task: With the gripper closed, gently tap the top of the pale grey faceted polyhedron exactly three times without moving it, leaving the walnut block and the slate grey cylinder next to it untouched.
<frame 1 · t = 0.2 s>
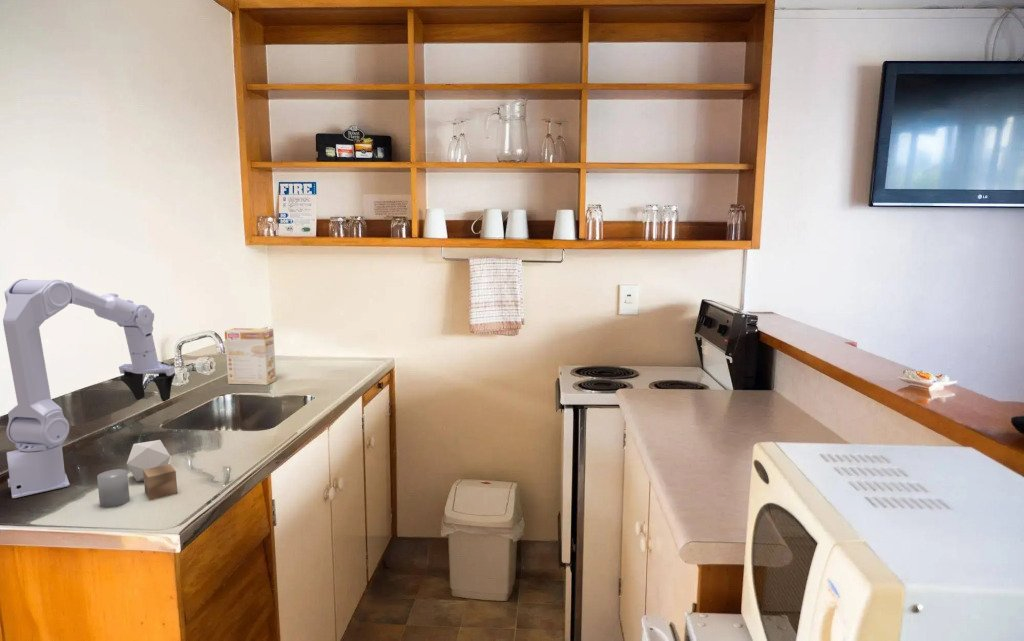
hand: (153, 399, 157), 11 cm above the counter, tool pointing down, fingers open, 7 cm apart
pale grey faceted polyhedron: (150, 477, 134), on the counter
walnut block: (161, 493, 125), on the counter
coffeecake box: (252, 383, 219), on the counter
grey cylinder: (115, 502, 121), on the counter
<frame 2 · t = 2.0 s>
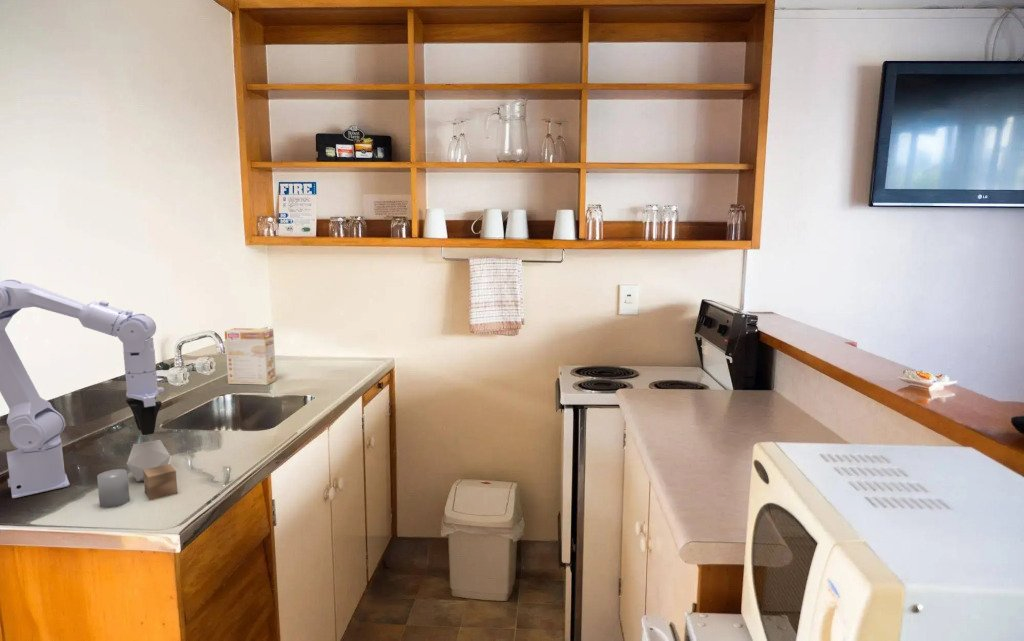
hand: (146, 431, 132), 10 cm above the counter, tool pointing down, fingers open, 4 cm apart
nothing on the counter moved.
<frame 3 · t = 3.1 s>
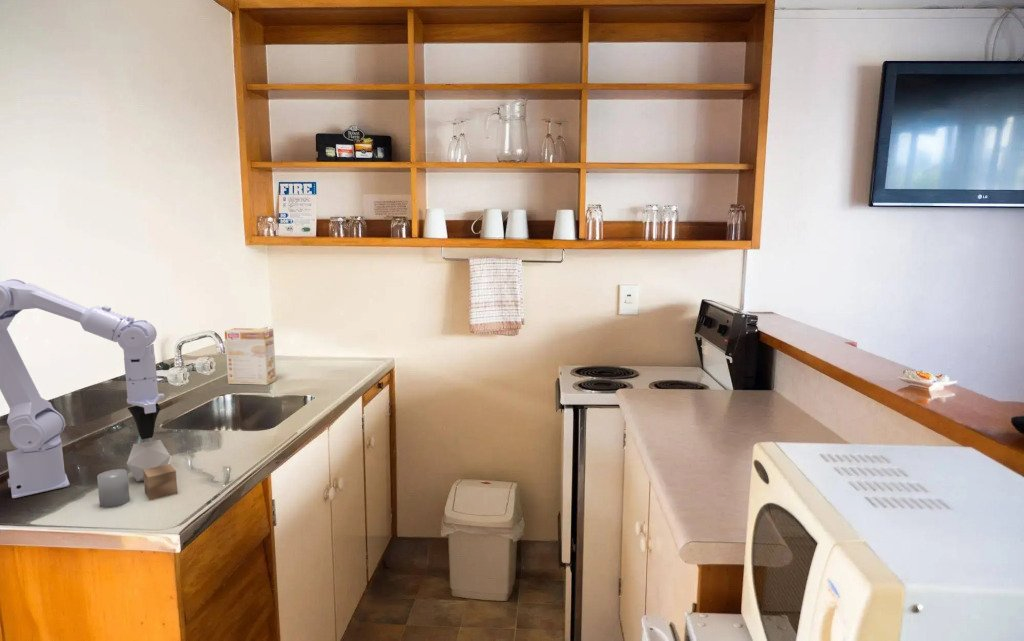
hand: (146, 437, 132), 9 cm above the counter, tool pointing down, fingers closed
nothing on the counter moved.
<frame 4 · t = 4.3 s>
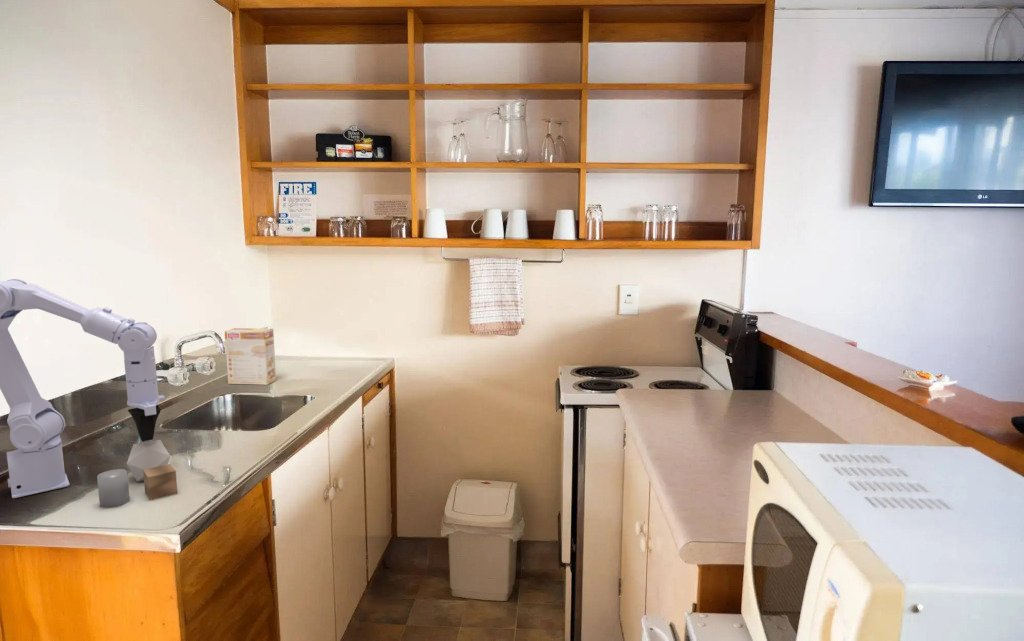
hand: (147, 439, 132), 9 cm above the counter, tool pointing down, fingers closed
nothing on the counter moved.
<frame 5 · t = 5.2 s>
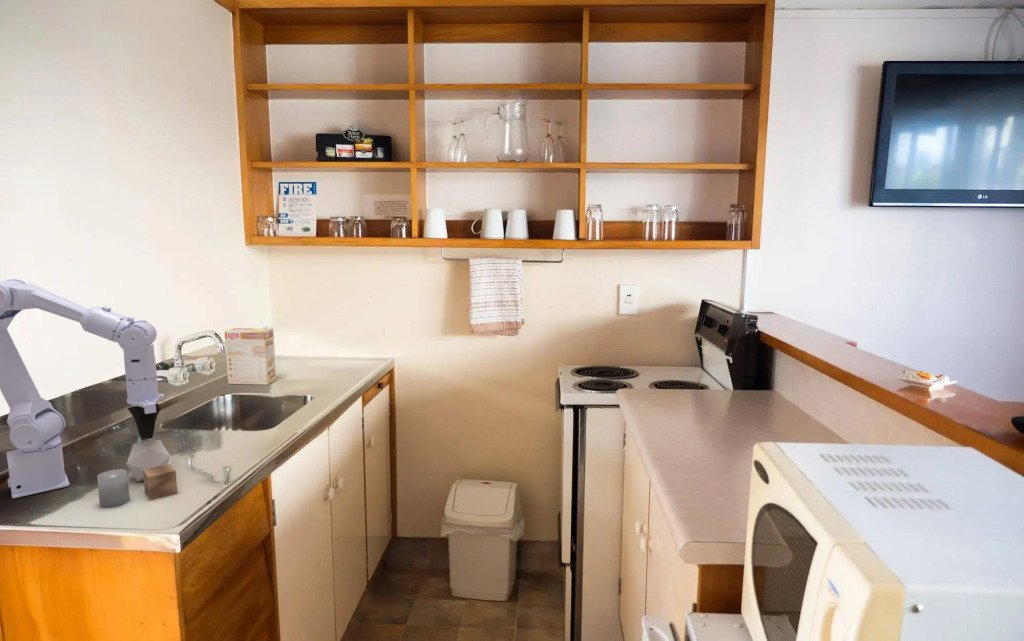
hand: (146, 438, 132), 9 cm above the counter, tool pointing down, fingers closed
nothing on the counter moved.
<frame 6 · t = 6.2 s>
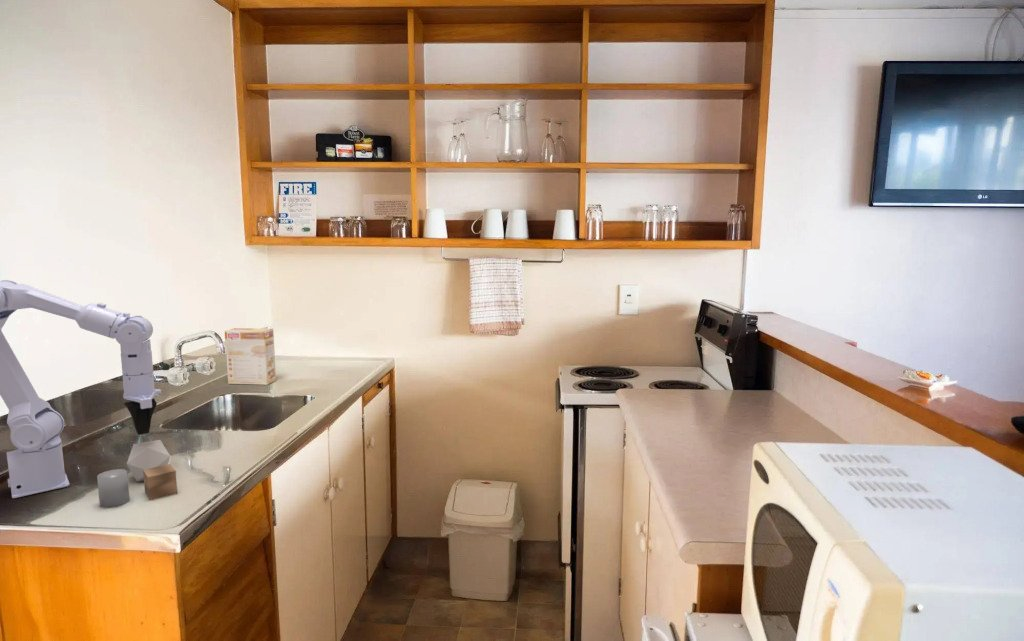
hand: (143, 433, 133), 10 cm above the counter, tool pointing down, fingers closed
nothing on the counter moved.
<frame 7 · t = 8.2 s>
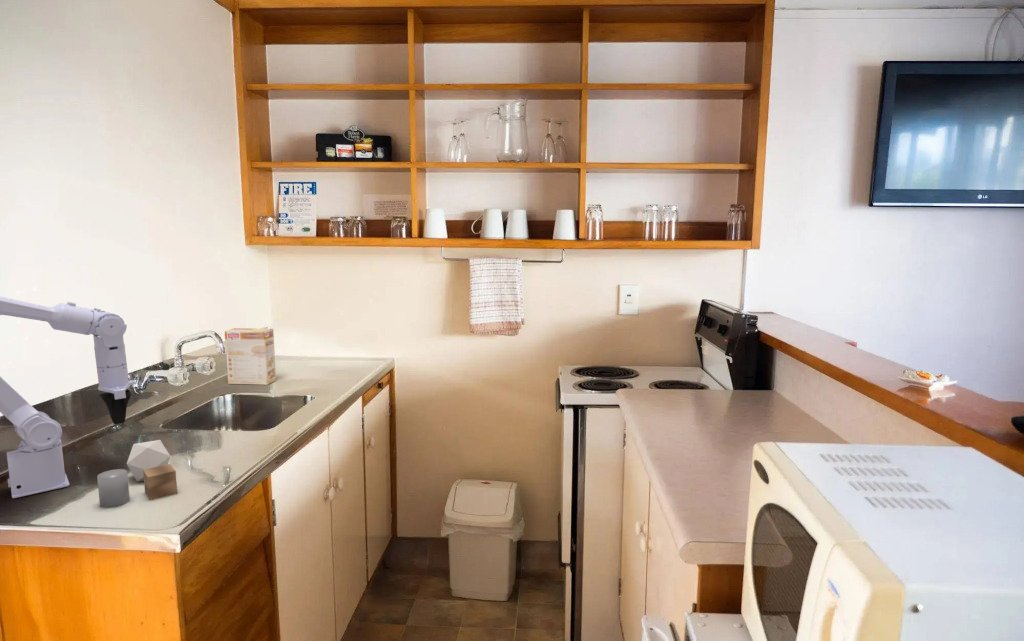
hand: (118, 422, 138), 10 cm above the counter, tool pointing down, fingers closed
nothing on the counter moved.
at the end: pale grey faceted polyhedron moved 0.2 cm from its start; pale grey faceted polyhedron tilted 0°; walnut block moved 0.1 cm from its start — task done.
